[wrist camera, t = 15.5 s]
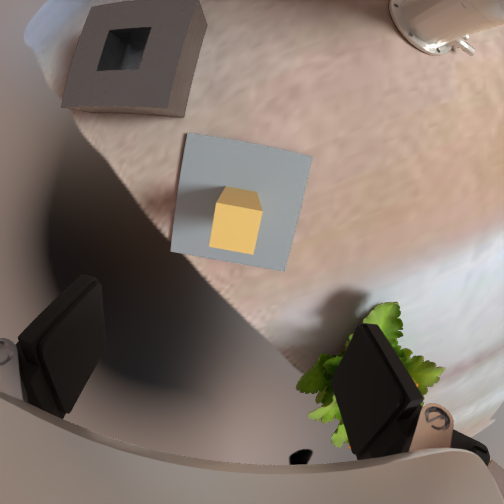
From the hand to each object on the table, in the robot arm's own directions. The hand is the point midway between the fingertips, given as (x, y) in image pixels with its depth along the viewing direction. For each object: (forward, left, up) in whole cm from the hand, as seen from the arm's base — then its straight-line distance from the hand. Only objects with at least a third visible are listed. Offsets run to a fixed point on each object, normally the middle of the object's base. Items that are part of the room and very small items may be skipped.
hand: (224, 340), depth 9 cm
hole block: (+16, -16, -28) cm, 37 cm away
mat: (0, +1, -28) cm, 28 cm away
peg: (0, +1, -28) cm, 28 cm away
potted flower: (-27, +24, -29) cm, 46 cm away
